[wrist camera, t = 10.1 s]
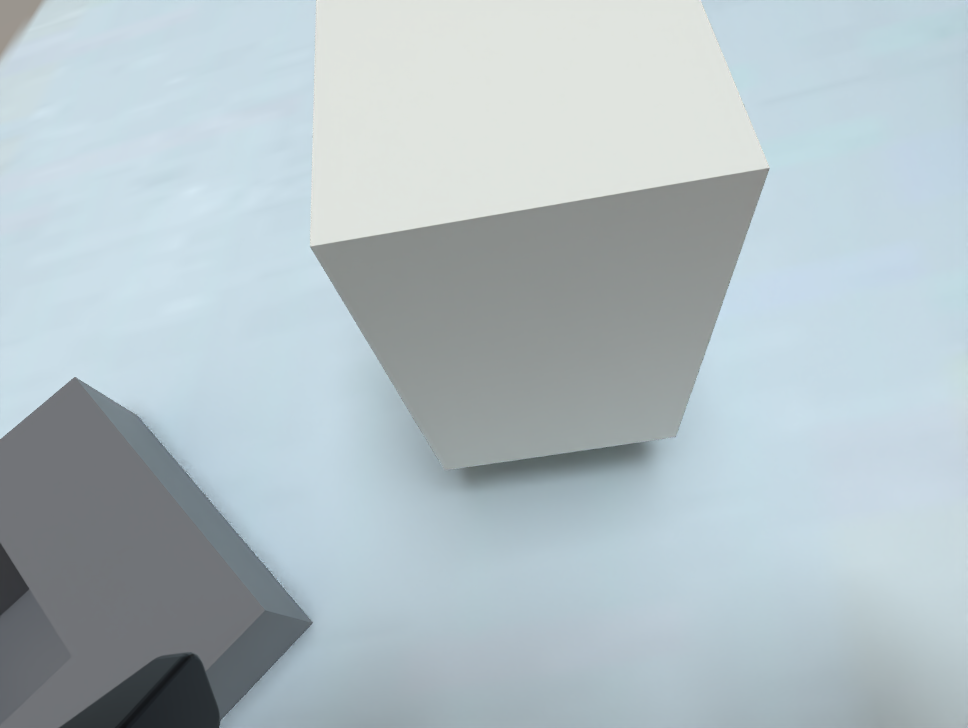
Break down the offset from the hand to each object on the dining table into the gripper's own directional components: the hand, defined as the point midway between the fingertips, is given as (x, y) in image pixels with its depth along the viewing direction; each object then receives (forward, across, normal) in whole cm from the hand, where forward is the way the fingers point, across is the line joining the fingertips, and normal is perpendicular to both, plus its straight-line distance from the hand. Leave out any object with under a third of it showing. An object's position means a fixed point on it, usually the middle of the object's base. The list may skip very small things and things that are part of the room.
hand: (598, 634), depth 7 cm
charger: (+10, 0, +1) cm, 10 cm away
